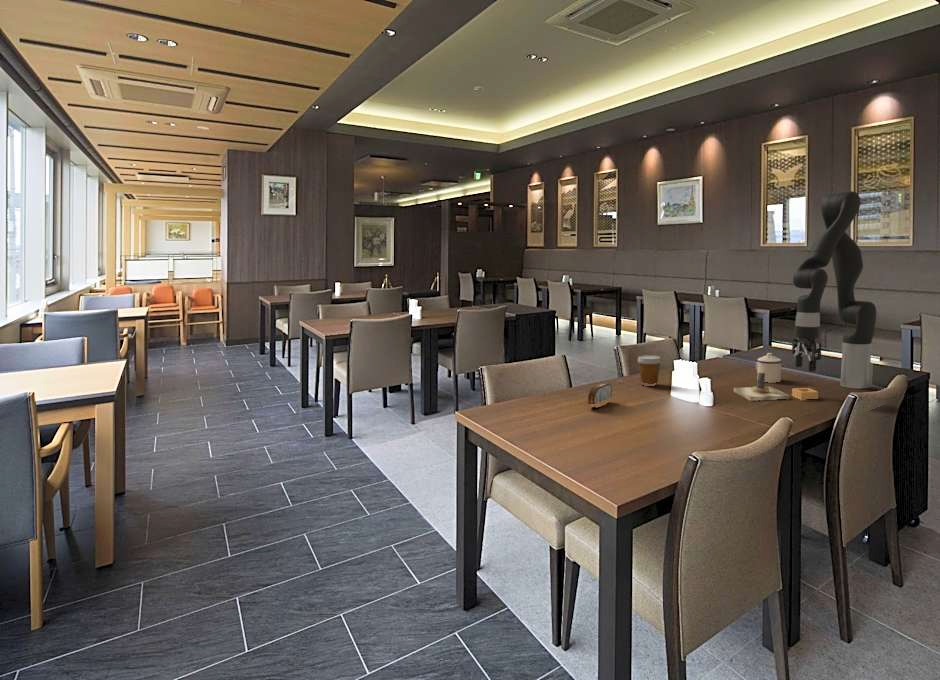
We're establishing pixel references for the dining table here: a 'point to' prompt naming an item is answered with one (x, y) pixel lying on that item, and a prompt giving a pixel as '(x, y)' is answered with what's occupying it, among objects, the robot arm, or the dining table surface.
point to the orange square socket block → (804, 393)
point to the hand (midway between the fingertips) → (805, 368)
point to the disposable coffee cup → (649, 368)
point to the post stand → (761, 391)
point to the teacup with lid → (769, 368)
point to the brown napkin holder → (599, 393)
